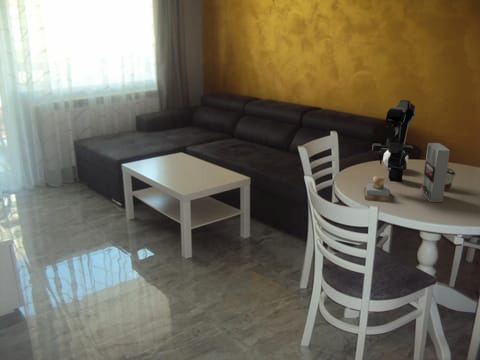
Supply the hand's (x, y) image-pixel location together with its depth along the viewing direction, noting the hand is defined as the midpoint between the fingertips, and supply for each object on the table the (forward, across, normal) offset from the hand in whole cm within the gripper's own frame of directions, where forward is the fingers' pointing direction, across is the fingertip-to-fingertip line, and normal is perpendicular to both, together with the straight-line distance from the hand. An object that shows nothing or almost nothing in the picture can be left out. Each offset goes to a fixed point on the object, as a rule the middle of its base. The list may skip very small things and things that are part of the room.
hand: (390, 165), depth 236 cm
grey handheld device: (+12, +19, -9) cm, 24 cm away
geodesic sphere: (+12, +6, +33) cm, 36 cm away
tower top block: (+10, -6, -13) cm, 17 cm away
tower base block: (+13, -6, -13) cm, 19 cm away
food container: (+12, +26, +7) cm, 30 cm away
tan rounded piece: (+8, -6, -13) cm, 16 cm away
